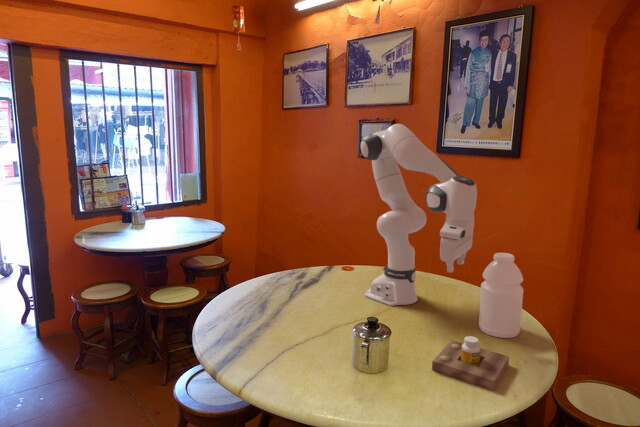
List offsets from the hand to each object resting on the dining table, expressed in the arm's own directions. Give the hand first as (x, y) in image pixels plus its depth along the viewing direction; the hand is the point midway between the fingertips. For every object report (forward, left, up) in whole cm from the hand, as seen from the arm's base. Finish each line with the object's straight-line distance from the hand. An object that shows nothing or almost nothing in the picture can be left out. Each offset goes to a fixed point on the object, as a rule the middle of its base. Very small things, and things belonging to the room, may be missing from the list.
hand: (455, 267), depth 145 cm
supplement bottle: (+11, -13, -27) cm, 32 cm away
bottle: (+11, +18, -27) cm, 34 cm away
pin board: (+11, -13, -26) cm, 31 cm away
